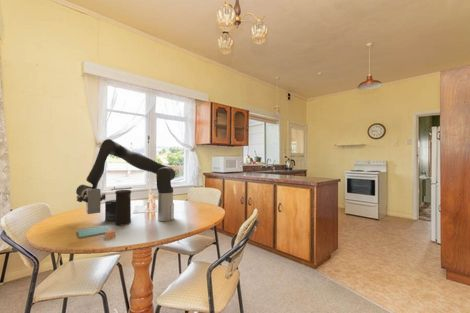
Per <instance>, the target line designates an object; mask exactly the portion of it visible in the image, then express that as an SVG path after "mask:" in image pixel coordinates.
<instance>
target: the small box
mask: <svg viewBox="0 0 470 313" xmlns="http://www.w3.org/2000/svg"><path fill="white" fill-rule="evenodd" d="M104 204H105V206H104V208H105V210H104V214H105V215H104V221H106V222H107V221H109V222H115V213H116V199H111V200H106V201H104Z"/></svg>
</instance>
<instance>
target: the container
mask: <svg viewBox="0 0 470 313" xmlns="http://www.w3.org/2000/svg"><path fill="white" fill-rule="evenodd" d="M114 194H115V200H116V213H115V221H114V223H115V224H114V225H116V226H124V225H128V224H130V223H131V222H132V221H131V220H132V218H131V217H132V213H131V211H132V209H131V207H132V206H131V204H132V203H131V194H132V190H130V189H118V190H115V192H114Z"/></svg>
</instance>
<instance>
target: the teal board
mask: <svg viewBox="0 0 470 313" xmlns="http://www.w3.org/2000/svg"><path fill="white" fill-rule="evenodd" d="M106 231H109V228H108V227H107V225H106V224H105V225H99V226H94V227H86V228H81V229H77V235H78V237H79V239H85V238H90V237H94V236H101V235H105V232H106Z"/></svg>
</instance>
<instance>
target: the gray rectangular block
mask: <svg viewBox="0 0 470 313" xmlns="http://www.w3.org/2000/svg"><path fill="white" fill-rule="evenodd" d="M100 195H102V194H101V189H100V188H97V189H87V198H88V203H86V202H85V203H86V205H85V206H86V207H85V208H86V214H87V215H93V214H100V213H101V201H100Z"/></svg>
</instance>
